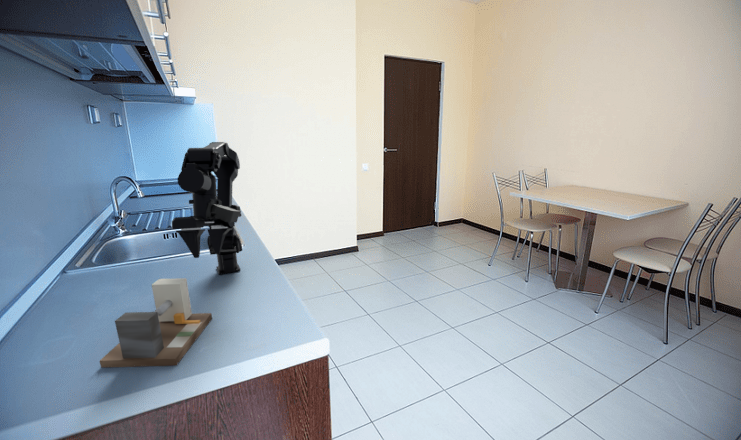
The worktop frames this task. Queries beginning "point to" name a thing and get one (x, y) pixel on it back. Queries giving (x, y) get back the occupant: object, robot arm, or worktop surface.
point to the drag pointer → (180, 319)
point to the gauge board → (166, 352)
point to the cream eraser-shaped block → (171, 298)
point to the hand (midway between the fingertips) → (207, 255)
